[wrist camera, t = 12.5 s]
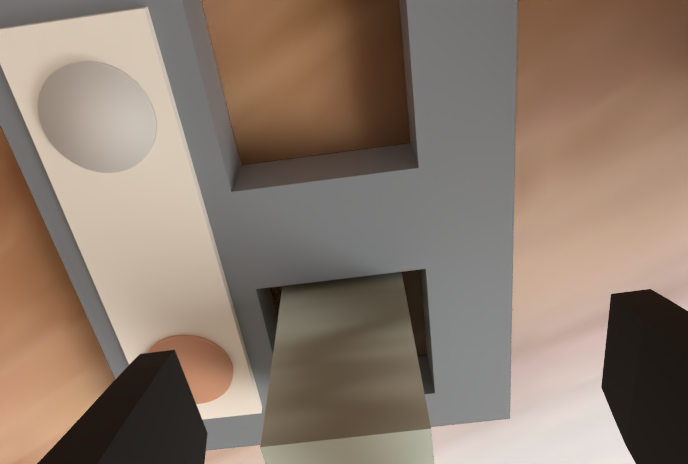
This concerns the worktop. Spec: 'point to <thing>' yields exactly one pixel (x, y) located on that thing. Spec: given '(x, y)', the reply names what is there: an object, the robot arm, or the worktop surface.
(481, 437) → the worktop surface
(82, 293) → the board
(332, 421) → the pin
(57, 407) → the worktop surface
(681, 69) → the worktop surface
